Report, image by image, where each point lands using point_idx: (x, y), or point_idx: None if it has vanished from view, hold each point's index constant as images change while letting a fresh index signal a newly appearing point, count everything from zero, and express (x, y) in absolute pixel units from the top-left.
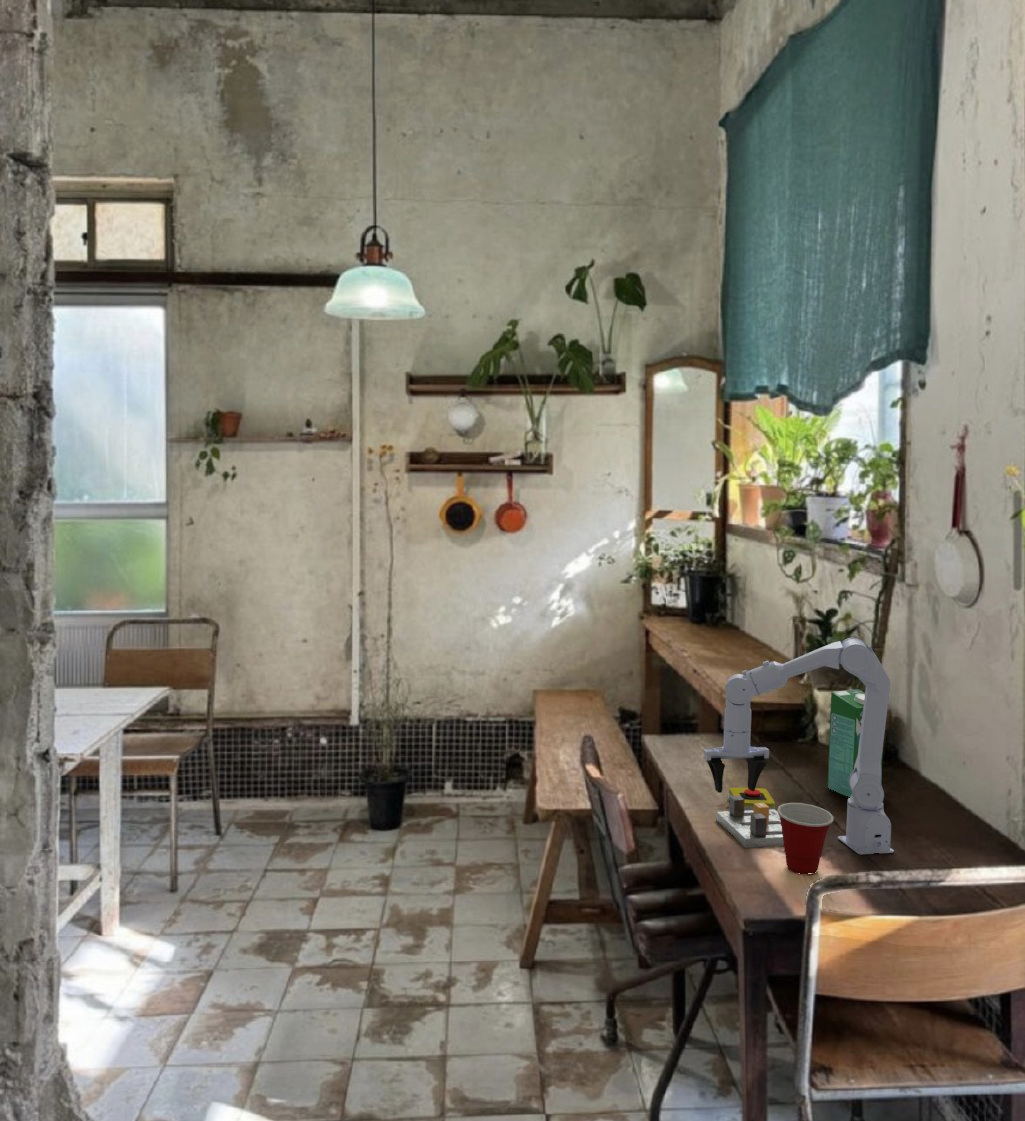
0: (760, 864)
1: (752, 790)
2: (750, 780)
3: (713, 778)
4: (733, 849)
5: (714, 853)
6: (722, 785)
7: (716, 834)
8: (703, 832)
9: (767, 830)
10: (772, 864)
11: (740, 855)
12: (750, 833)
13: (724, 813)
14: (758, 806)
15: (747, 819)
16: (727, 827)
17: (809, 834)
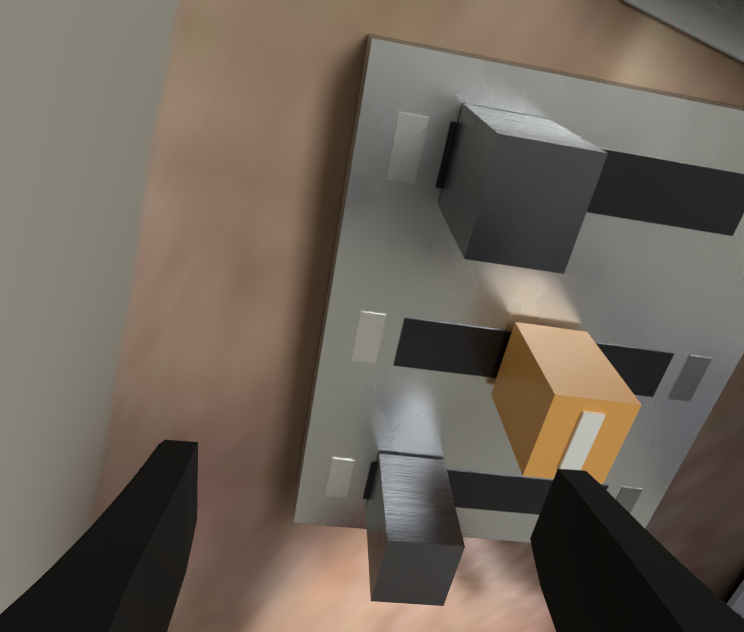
0: (266, 616)
1: (536, 547)
2: (586, 589)
3: (87, 535)
4: (227, 483)
5: (106, 501)
6: (173, 610)
7: (231, 290)
8: (158, 237)
9: (489, 456)
10: (316, 624)
11: (226, 540)
12: (365, 470)
13: (414, 103)
14: (539, 455)
15: (501, 276)
16: (332, 266)
17: None
